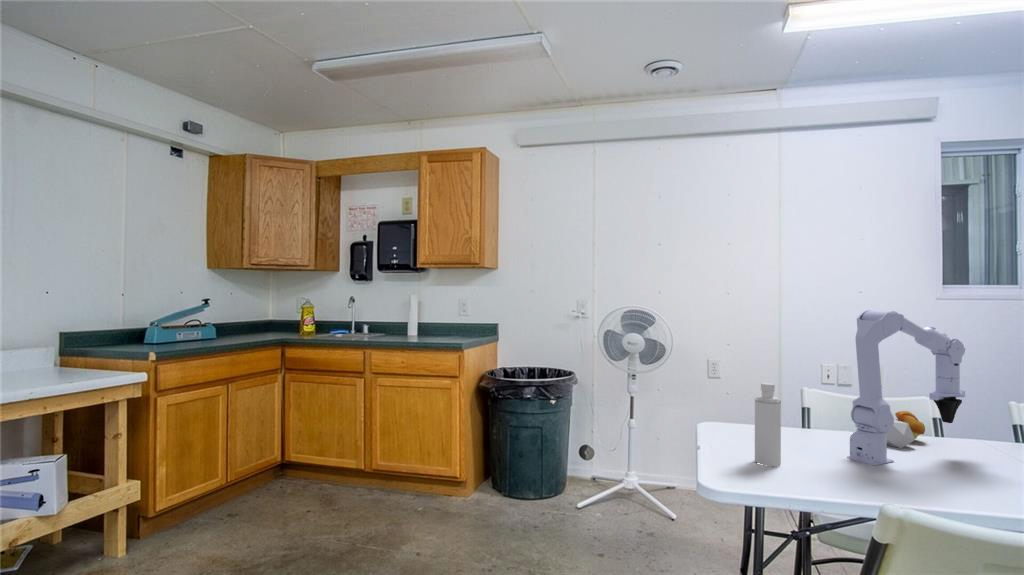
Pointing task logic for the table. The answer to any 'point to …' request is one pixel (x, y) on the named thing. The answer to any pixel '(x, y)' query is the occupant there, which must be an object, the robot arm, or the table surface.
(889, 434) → the die
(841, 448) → the table surface
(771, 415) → the grey bottle
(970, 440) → the table surface
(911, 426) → the cheeseburger
